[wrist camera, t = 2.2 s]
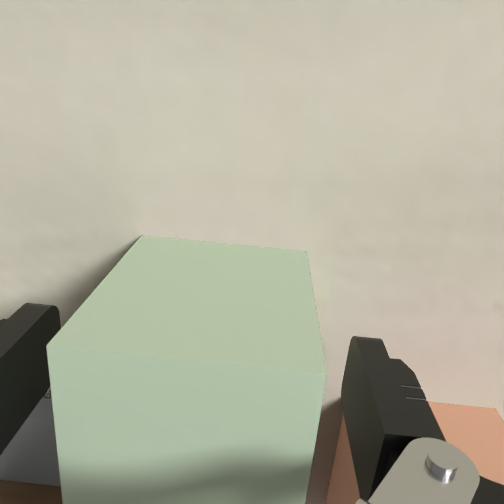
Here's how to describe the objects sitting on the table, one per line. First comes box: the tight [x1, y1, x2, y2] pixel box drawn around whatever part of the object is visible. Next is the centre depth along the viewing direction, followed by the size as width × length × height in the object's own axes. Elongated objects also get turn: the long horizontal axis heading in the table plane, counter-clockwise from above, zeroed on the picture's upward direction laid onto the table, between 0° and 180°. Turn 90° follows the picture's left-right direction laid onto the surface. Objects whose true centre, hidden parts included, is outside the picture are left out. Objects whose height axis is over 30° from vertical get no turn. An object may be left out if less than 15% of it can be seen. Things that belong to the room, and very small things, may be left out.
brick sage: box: [46, 235, 327, 504], centre depth 12 cm, size 5×5×6 cm
